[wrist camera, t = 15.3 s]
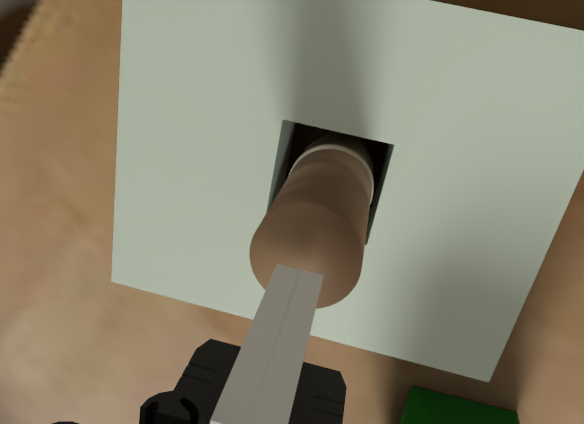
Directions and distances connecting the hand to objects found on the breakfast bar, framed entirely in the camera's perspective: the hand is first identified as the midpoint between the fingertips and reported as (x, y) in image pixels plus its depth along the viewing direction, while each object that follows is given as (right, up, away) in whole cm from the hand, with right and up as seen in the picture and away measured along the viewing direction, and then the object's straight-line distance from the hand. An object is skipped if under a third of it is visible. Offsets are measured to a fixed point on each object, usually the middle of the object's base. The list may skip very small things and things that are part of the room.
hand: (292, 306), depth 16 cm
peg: (+3, +6, +13) cm, 15 cm away
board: (+3, +6, +13) cm, 15 cm away
